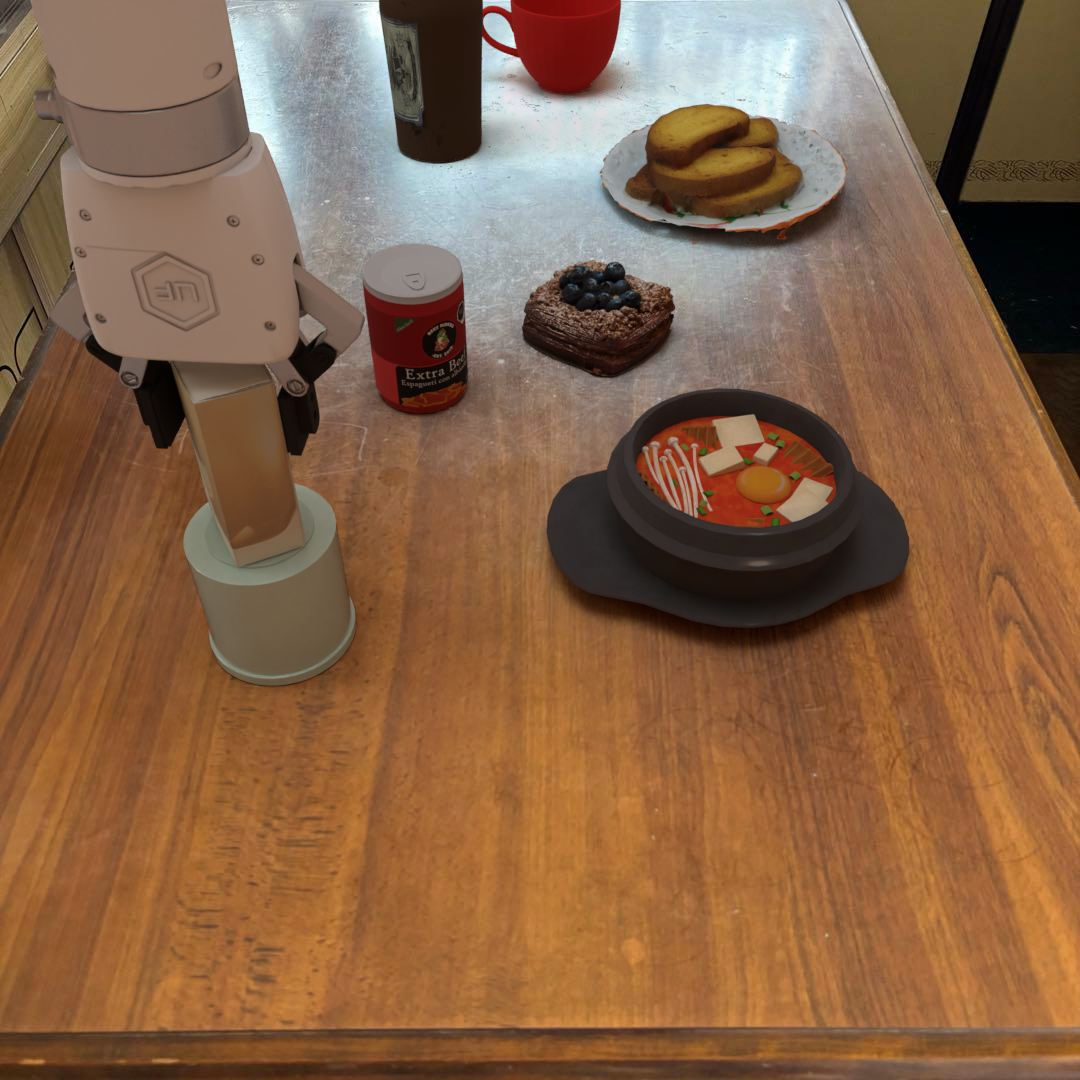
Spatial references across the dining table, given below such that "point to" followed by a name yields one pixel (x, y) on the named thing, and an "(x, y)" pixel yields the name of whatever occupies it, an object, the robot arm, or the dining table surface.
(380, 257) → the canned food
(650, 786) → the dining table surface
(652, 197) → the food on plate
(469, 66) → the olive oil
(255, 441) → the cosmetic box
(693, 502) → the casserole
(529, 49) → the ceramic cup
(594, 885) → the dining table surface
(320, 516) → the upturned cup
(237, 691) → the dining table surface
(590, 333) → the pastry
